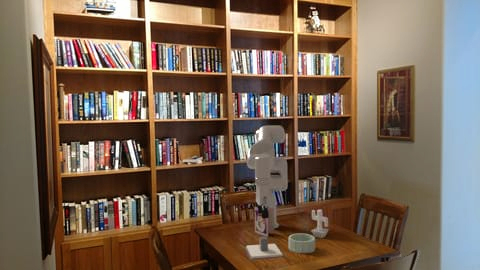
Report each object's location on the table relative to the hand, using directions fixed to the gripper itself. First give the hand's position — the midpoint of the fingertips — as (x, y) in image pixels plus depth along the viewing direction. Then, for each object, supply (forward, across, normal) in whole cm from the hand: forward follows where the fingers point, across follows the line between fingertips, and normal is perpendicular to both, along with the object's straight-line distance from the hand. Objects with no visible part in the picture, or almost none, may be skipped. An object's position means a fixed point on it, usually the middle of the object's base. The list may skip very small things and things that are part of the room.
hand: (263, 215), depth 187 cm
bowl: (+19, -2, +20) cm, 28 cm away
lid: (+18, -1, 0) cm, 18 cm away
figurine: (+19, -19, +36) cm, 45 cm away
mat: (+19, -1, 0) cm, 19 cm away
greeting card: (+19, -30, +7) cm, 36 cm away
